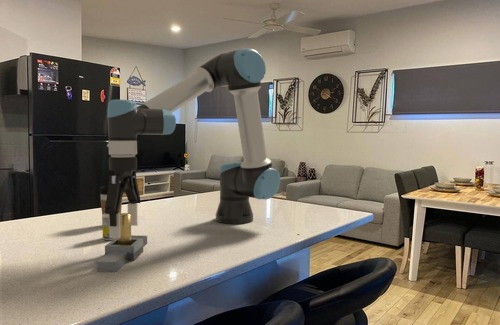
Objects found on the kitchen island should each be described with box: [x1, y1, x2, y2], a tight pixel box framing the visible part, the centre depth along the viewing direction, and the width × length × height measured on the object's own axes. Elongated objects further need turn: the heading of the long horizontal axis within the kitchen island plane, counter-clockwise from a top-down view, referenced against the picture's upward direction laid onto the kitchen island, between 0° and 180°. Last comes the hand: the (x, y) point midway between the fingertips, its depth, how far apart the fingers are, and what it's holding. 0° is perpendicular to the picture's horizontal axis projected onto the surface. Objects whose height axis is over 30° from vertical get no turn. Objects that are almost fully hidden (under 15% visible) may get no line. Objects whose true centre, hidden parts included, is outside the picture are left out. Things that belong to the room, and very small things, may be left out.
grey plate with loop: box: [96, 234, 148, 273], centre depth 108 cm, size 24×8×4 cm, turn 177°
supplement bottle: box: [101, 209, 116, 241], centre depth 126 cm, size 6×6×10 cm
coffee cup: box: [98, 185, 123, 215], centre depth 143 cm, size 8×8×15 cm
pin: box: [118, 212, 132, 245], centre depth 108 cm, size 4×4×12 cm
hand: (124, 231), depth 108 cm, fingers open, 13 cm apart
